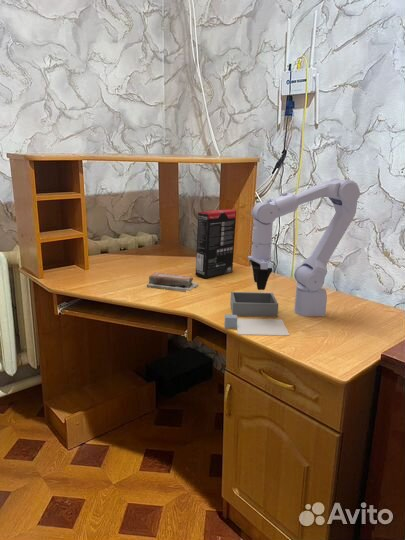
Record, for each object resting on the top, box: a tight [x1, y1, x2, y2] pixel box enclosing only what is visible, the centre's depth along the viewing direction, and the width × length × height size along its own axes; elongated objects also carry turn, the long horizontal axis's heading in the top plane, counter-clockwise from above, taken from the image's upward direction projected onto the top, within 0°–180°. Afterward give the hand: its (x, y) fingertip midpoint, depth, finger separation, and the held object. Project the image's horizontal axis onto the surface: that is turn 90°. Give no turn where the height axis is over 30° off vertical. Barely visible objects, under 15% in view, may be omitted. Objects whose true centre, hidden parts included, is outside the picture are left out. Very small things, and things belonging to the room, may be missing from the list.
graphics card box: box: [195, 208, 237, 279], centre depth 176 cm, size 17×7×27 cm, turn 134°
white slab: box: [224, 314, 290, 337], centre depth 123 cm, size 18×11×4 cm, turn 90°
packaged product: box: [146, 272, 199, 293], centre depth 162 cm, size 18×5×10 cm
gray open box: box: [230, 291, 279, 318], centre depth 136 cm, size 14×11×5 cm
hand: (259, 285), depth 131 cm, fingers open, 7 cm apart
